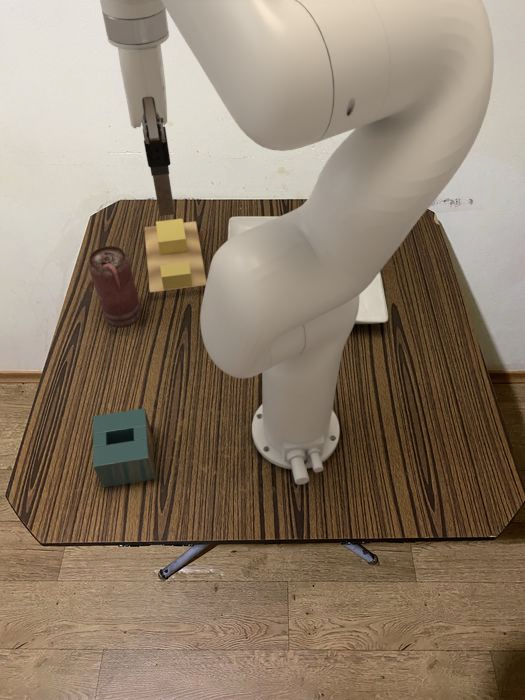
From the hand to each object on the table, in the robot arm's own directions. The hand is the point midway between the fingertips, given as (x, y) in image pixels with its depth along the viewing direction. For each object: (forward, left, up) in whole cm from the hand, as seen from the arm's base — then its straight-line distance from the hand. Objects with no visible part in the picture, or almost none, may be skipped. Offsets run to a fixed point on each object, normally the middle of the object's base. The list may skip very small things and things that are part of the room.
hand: (158, 158), depth 84 cm
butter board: (+6, 0, -25) cm, 26 cm away
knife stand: (-34, +10, -25) cm, 43 cm away
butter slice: (-1, 0, -23) cm, 23 cm away
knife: (0, 0, -10) cm, 10 cm away
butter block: (+9, 0, -23) cm, 25 cm away
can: (-8, +10, -25) cm, 28 cm away
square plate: (-3, -22, -25) cm, 33 cm away
